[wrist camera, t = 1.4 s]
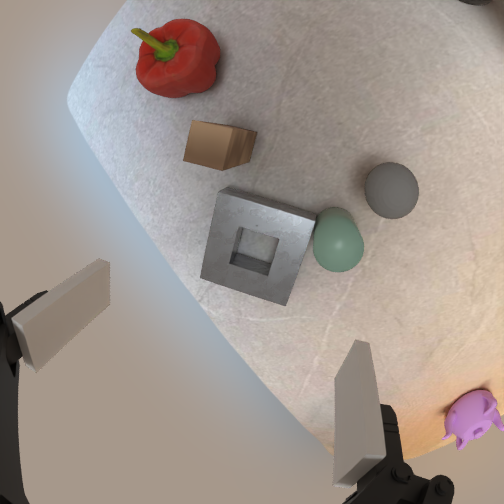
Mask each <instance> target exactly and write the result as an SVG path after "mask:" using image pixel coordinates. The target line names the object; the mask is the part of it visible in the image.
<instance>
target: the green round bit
mask: <svg viewBox="0 0 504 504" xmlns="http://www.w3.org/2000/svg"><path fill="white" fill-rule="evenodd" d="M313 251H314V256H315V258H316V260H317V262H318V263H319V264H320V265H321V266H322V267H323V268H325V269H327V270H329V271H332V272H344V271H348V270H350V269H352V268H353V267H355V266H356V265H357V264H358V263H359V261H360V260H361V258H362V256H363V252H364V242H363V239H362V237H361V234H360V232H359V230H358V228H357V226H356V223H355V221H354V219H353V217H352V216H351V214H350V213H349V212H347V211H346V210H344V209H342V208H338V207H332V208H328V209H325V210H324V211H322V212H321V213H320V214H319V215H318V216H317V218H316V220H315V224H314V242H313Z"/></svg>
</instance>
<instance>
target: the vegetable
mask: <svg viewBox="0 0 504 504" xmlns="http://www.w3.org/2000/svg"><path fill="white" fill-rule="evenodd" d="M131 32H132V33H133V34H135V35H137V36H138V37H139V38H140V39H142V40H143V42H142V44H141V46H140V49H139V60H138V63H137V66H136V75H137V79H138V80H139V82H140V83H141V84H142V86H143V87H144V88H146V89H147V90H148V91H150V92H152V93H154V94H157V95H160V96H164V97H168V98H179V97H183V96H186V95H187V94H189V93H201V92H203V91H205V90H207V89H209V88H210V87H211V86H212V84H213V83H214V81H215V79H216V70H215V65H216V63H217V62H218V60H219V58H220V47H219V45H218V43H217V41H216V39H215V37H214V36H213V34H212V33H211V32H210V30H209V29H208V28H206V27H205V26H204V25H202V24H200V23H198V22H196V21H194V20H190V19H175V20H172V21H170V22H168V23H166V24H165V25H164V26H162V27H160V28H156V29H154V30H152V31H151V32H149V34H148V33H146V32H145V31H143V30H141V29H138V28H134V29H132V30H131Z"/></svg>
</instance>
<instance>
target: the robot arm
mask: <svg viewBox="0 0 504 504" xmlns="http://www.w3.org/2000/svg"><path fill="white" fill-rule="evenodd" d="M460 1H462V2H465V3H468V4H473V5H484V4H487V3H489V2H491V1H492V0H460ZM109 305H110V262H107V261H104V260H102V259H97V260H96V261H94V262H93V263H91V264H90V265H88V266H86V267H85V268H83V269H82V270H80V271H79V272H77V273H76V274H74V275H73V276H71V277H70V278H68V279H66V280H65V281H63V282H62V283H60V284H59V285H58V286H56V287H55V288H53V289H52V290H50V291H49V292H48V291H47V290H46V291H43V292H40V293H37V294H36V295H34V296H33V297H31V298H30V300H27V301H25V302H24V304H23V303H22V304H21V305H20V306H18V307H17V308H15V309H14V310H13V311H11V312H10V313H8V314H7V315H6V316H5V313H4V310H3V305H2V303H1V302H0V504H29V502H28V500H27V498H26V496H25V493H24V488H23V482H22V474H21V464H20V453H19V438H18V383H19V367H20V365H19V359H20V358H21V357H22V356H23V359H24V362H25V365H26V366H27V367H28V368H30V369H31V370H33V371H34V372H35V373H37V372H38V371H39V370H40V369H41V368H42V367H43V366H44V365H45V364H46V363H47V362H48V361H49V360H50V359H51V358H52V357H54V356H55V355H56V354H57V353H58V352H59V351H60V350H61V349H62V348H63V347H64V346H65V345H66V344H67V343H68V342H69V341H70V340H72V339H73V338H74V337H75V336H76V335H77V334H78V333H79V332H80V331H81V330H82V329H84V327H86V326H87V325H88V324H89V323H90V322H91V321H92V320H93V319H94V318H96V317H97V316H98V315H99V314H100V313H101V312H102V311H103V310H105V309H106V308H107V307H108V306H109ZM397 425H398V422H397V417H396V414H395V412H394V410H393V409H392V407H391V406H390V405H384V404H380V401H379V395H378V388H377V382H376V376H375V371H374V365H373V360H372V354H371V349H370V344H369V343H367V342H363V341H359V340H355V341H354V343H353V345H352V347H351V349H350V351H349V353H348V355H347V357H346V358H345V360H344V362H343V364H342V366H341V368H340V369H339V371H338V373H337V375H336V377H335V438H334V468H333V486H334V487H344V488H351V487H352V486H353V485H354V484H356V483H357V491H355V492H354V493H353V494H352V495H350V496H349V497H348V498H346V501H345V502H344V503H342V504H451V503H452V499H453V495H454V485H453V482H452V481H451V480H450V479H449V478H448V477H447V476H444V475H437V476H435V477H434V478H432V479H431V480H428V479H425V478H422V477H419V476H416V475H414V473H413V471H412V469H411V467H410V466H409V465H408V464H407V463H405V462H404V461H403V454H402V447H401V441H400V434H399V428H398V426H397Z"/></svg>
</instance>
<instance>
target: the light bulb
mask: <svg viewBox="0 0 504 504" xmlns="http://www.w3.org/2000/svg"><path fill="white" fill-rule="evenodd" d="M365 196H366V200H367V202H368V204H369V206H370V207H371V209H372V210H373V211H374V212H375V213H376V214H378V215H379V216H381V217H384V218H388V219H398V218H402V217H404V216H406V215H407V214H409V213H410V212H411V211H412V210H413V208H414V207H415V205H416V203H417V200H418V196H419V187H418V183H417V180H416V178H415V176H414V175H413V173H412V172H411V171H410V170H409V169H408V168H406V167H405V166H403V165H401V164H398V163H393V162H388V163H383V164H380V165H378V166H377V167H375V168H374V169H373V170H372V171H371V172H370V173H369V175H368V177H367V179H366V182H365Z"/></svg>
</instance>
